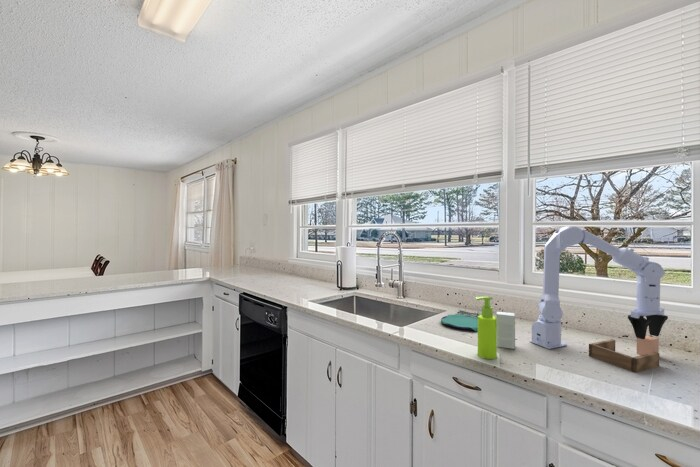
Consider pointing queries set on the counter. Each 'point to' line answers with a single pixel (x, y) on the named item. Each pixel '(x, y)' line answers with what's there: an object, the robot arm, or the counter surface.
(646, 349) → the terracotta block
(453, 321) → the teal flat rounded piece
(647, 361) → the open-sided box
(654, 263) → the robot arm
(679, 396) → the counter surface
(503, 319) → the skincare box
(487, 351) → the soap dispenser
